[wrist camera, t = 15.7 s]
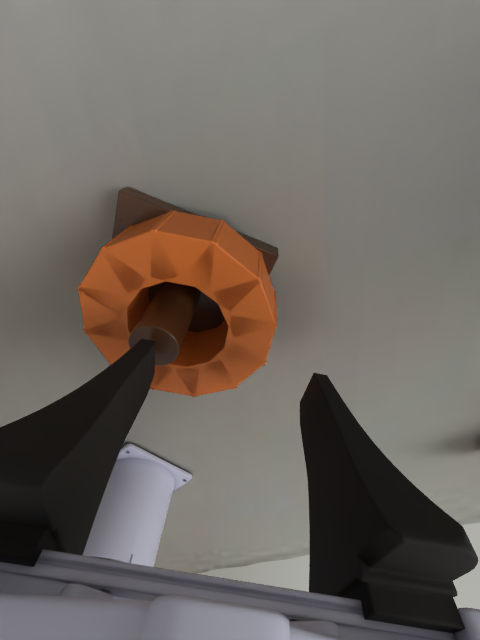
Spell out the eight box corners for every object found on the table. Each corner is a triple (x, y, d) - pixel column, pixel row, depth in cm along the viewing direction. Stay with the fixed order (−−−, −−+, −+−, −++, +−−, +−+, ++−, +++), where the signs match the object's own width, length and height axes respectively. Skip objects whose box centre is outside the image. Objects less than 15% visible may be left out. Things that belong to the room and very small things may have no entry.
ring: (207, 380, 22) (199, 417, 19) (82, 301, 19) (50, 332, 16) (308, 291, 18) (316, 324, 15) (164, 168, 14) (139, 179, 12)
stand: (226, 354, 22) (214, 429, 17) (107, 313, 21) (53, 380, 16) (278, 248, 17) (283, 304, 12) (127, 186, 16) (58, 218, 11)
